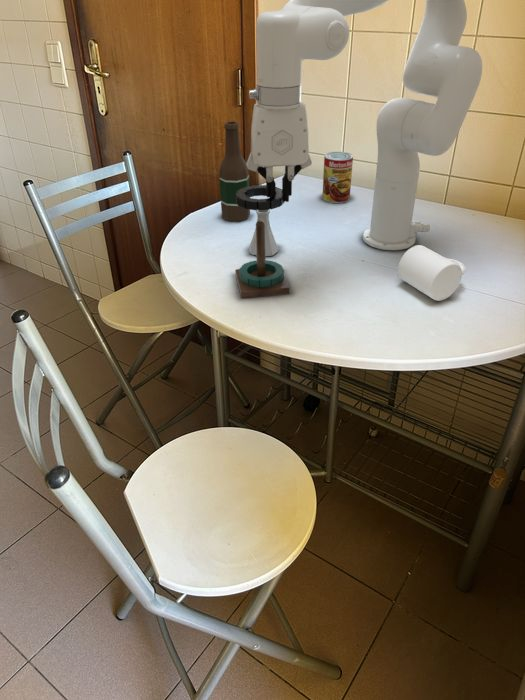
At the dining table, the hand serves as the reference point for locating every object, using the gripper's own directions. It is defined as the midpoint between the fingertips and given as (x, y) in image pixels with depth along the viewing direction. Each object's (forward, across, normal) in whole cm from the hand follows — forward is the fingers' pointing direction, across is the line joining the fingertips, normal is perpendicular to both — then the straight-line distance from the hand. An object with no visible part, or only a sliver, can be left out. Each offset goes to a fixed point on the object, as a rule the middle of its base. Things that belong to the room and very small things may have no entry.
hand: (278, 199), depth 101 cm
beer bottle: (+18, -5, +38) cm, 43 cm away
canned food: (+18, +25, +46) cm, 56 cm away
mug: (+18, +31, -8) cm, 37 cm away
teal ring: (+17, -4, +1) cm, 17 cm away
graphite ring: (0, -4, 0) cm, 4 cm away
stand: (+18, -4, 0) cm, 19 cm away
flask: (+19, -1, +16) cm, 25 cm away
